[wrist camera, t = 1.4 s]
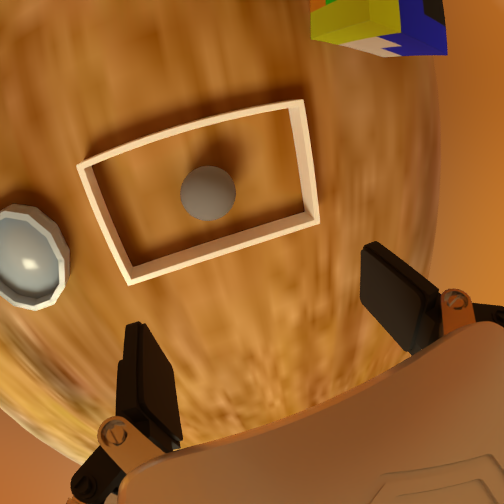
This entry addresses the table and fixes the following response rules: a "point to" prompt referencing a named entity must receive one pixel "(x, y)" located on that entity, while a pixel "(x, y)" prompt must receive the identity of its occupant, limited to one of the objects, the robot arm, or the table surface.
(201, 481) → the robot arm
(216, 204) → the ball
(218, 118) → the white rectangular frame
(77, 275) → the table surface
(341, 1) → the puzzle toy
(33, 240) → the bowl
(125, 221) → the table surface
